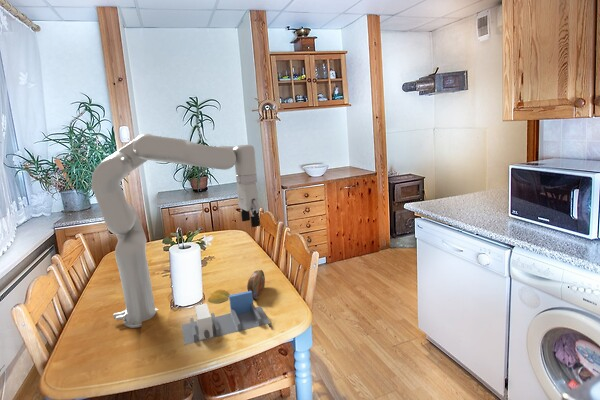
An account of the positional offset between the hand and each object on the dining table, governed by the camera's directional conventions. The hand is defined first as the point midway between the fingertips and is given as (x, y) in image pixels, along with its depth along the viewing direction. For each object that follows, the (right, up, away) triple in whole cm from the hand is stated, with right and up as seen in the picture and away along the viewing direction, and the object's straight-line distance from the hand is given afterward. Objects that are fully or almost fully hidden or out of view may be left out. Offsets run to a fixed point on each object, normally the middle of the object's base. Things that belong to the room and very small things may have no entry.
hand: (250, 223), depth 148 cm
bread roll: (-13, -31, +5) cm, 34 cm away
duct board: (-7, -35, -15) cm, 38 cm away
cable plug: (-12, -35, -20) cm, 42 cm away
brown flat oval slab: (+1, -29, +9) cm, 30 cm away
